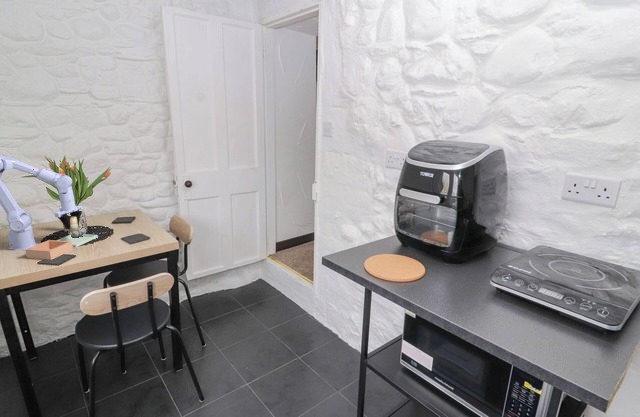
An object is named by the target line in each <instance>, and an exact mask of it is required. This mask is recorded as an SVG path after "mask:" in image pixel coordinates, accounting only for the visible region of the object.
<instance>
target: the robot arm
mask: <svg viewBox="0 0 640 417" xmlns="http://www.w3.org/2000/svg"><path fill="white" fill-rule="evenodd" d="M33 169H34V170H33ZM6 170H18V171H20V172H24V173H27V174H30V175H33V176H35V177H36V178H37V179H38V180H39V181H42V182H44V183H47V184H49V185H53V186H55V187H56V188H57V191H58V192H57V193H58V197H59V198H58V199H59V202H60V207H61V208H62V210H61V211H60V210H59V211H57V212H55V213H54V216H55V218H57V219H59V221H60V222H61V223H62V226H63V225H64V226H65V228H66V229H71V226H70V218H71V216H76V217H77V223H78V227H79V225H80V219H81V216H82V214H83V210H84V208H83V205H76V201H75V196H74V190H73V186H72V184H73V179H72V177H70V176H69V175H67V174H63V173H57V172H55V171H52V170H51V168H48V167H47V168H37V167H35V166H33V165H30V164H28V163H26V162H23V161H21V160H18V159H16V158H13V157H11V156H6V155H4V154H0V206H1V207H2V209H3V210H4V212H5V213H6V220H7V222H8V227H9V229H10V230H9V231H8V233H7V240H8V244H9V248H8V250H12V251H13V250H14V251H16V250H19V251H20V250H21V251H25V249H28V248H30V247H33V246H35V245H38V244H40V243H37V242H36V241H35V235H34V230H33V226H32V222H33V218H32V216H31V215H30V214H28V213H27V212H26V211H25V210H24V209H22V208H20V206H19V204H18V202H17V201H16V199H14V197H13V195H12V193H11V192H10V190H9V189H8V187H7V186H6V184H5V183H4V181H3V179H2V178H1V177H2V175H3V173H4V171H6ZM63 175H64V176H63ZM69 213H70V215H71V216H68V215H67V214H69Z"/></svg>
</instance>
